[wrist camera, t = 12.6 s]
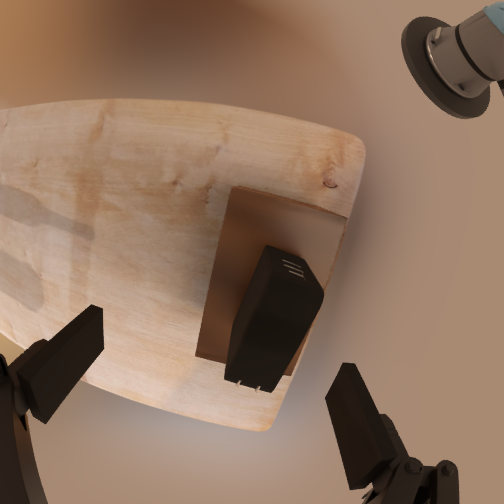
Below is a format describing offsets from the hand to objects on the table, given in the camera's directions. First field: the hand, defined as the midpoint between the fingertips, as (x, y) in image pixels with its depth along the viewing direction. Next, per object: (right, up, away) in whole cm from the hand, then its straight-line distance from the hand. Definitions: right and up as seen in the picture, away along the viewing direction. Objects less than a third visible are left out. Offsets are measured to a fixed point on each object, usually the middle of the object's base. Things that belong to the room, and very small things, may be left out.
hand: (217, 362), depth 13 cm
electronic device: (+3, +1, +16) cm, 16 cm away
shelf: (+3, +4, +27) cm, 28 cm away
